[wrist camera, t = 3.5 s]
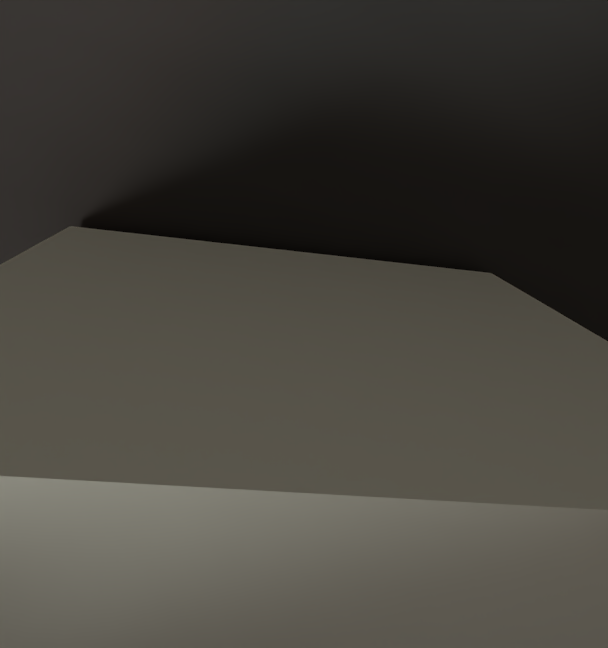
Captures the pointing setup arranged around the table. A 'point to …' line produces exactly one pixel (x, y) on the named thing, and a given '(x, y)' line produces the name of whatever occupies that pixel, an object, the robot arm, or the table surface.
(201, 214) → the table surface
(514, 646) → the pale grey carton
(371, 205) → the table surface
